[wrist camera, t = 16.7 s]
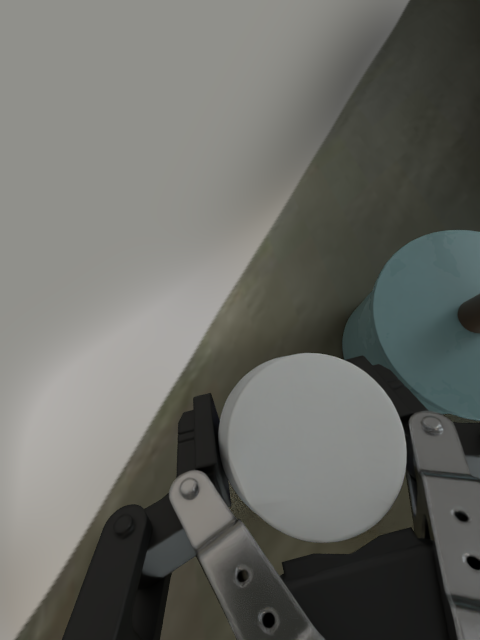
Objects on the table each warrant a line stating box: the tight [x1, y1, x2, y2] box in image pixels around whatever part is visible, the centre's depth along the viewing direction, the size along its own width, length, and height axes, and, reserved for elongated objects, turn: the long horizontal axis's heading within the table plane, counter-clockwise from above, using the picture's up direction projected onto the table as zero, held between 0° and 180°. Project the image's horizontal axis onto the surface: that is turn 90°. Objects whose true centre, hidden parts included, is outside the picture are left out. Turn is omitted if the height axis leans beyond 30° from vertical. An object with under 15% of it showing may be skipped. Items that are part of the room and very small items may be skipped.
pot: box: [342, 230, 480, 421], centre depth 22 cm, size 12×12×12 cm
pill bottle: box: [218, 353, 407, 543], centre depth 13 cm, size 6×6×10 cm
